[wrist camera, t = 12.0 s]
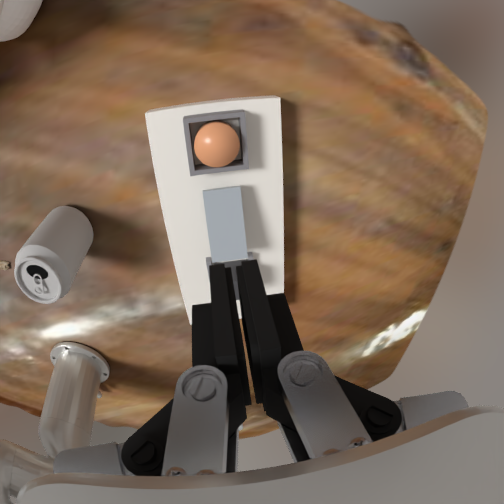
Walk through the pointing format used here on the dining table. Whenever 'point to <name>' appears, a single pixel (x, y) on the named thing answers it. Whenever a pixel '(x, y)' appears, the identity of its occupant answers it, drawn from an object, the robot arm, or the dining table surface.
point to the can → (53, 255)
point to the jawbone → (4, 265)
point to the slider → (233, 274)
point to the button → (216, 143)
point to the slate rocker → (225, 223)
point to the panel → (205, 177)
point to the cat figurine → (16, 17)
